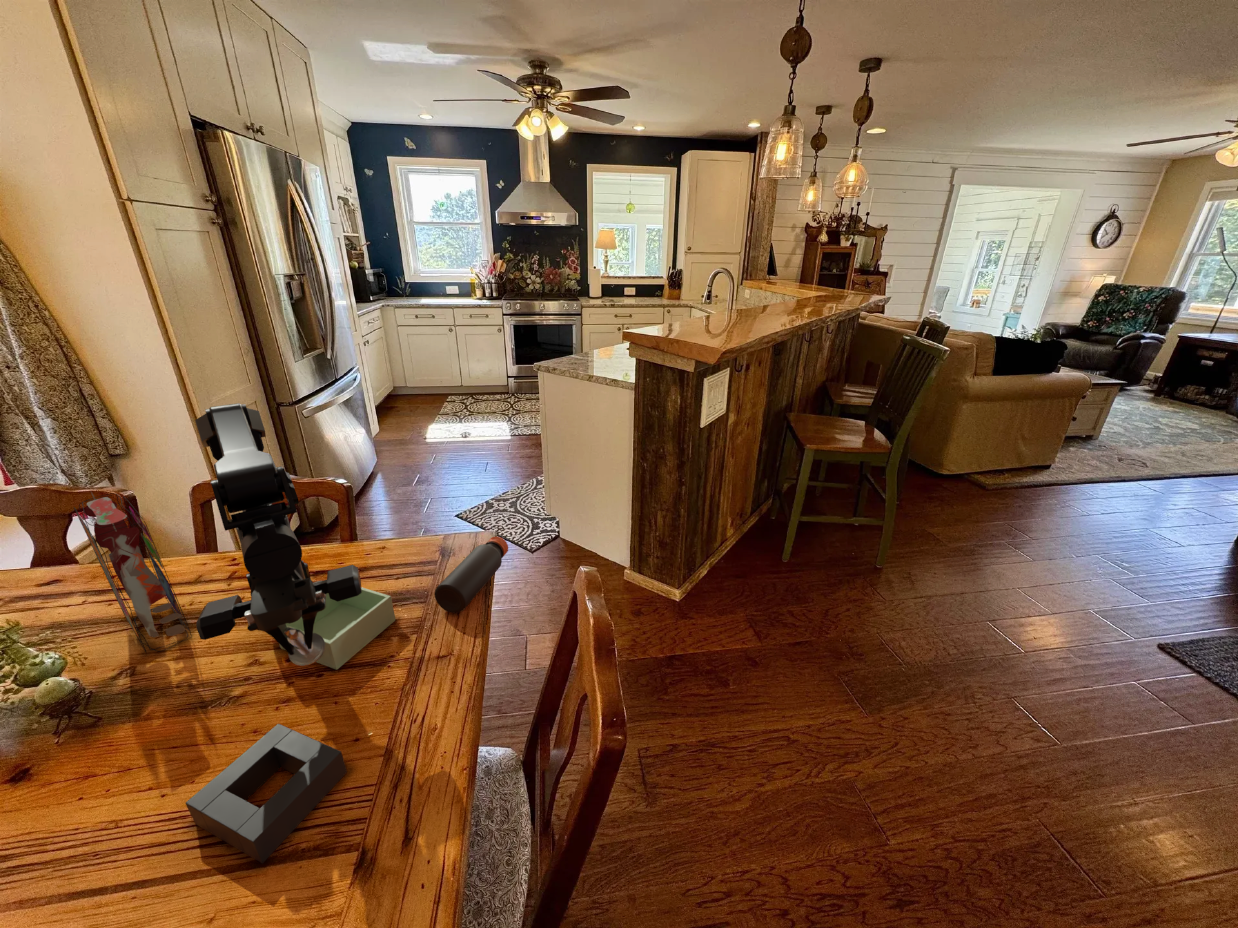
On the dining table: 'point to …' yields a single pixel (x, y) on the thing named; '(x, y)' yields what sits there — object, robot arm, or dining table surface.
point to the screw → (304, 647)
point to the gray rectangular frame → (272, 823)
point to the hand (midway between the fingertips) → (301, 650)
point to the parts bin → (350, 625)
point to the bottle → (470, 575)
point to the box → (131, 565)
